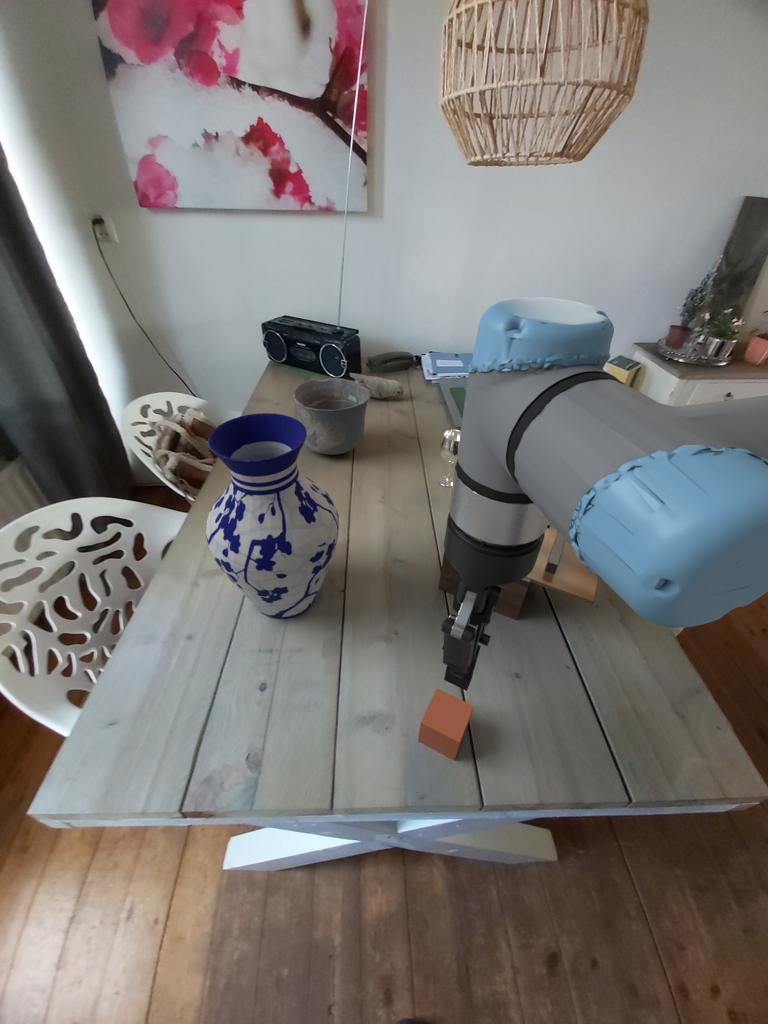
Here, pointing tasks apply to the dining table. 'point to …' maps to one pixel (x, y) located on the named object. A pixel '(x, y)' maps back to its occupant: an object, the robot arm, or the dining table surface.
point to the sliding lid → (563, 569)
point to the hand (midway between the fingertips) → (457, 679)
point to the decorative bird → (379, 386)
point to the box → (508, 599)
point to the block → (445, 723)
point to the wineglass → (449, 453)
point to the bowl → (331, 414)
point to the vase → (270, 516)
